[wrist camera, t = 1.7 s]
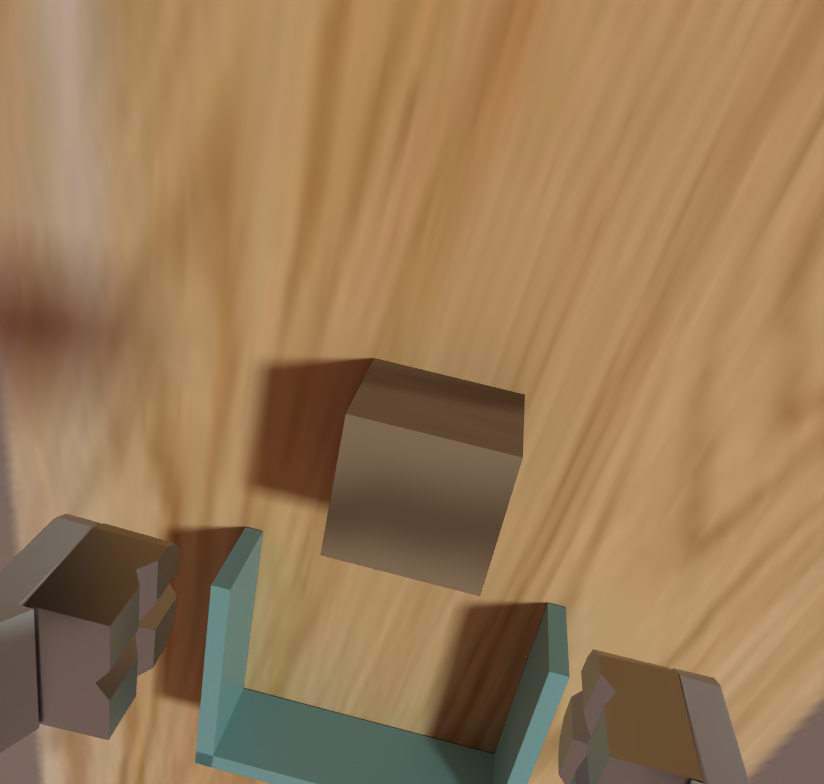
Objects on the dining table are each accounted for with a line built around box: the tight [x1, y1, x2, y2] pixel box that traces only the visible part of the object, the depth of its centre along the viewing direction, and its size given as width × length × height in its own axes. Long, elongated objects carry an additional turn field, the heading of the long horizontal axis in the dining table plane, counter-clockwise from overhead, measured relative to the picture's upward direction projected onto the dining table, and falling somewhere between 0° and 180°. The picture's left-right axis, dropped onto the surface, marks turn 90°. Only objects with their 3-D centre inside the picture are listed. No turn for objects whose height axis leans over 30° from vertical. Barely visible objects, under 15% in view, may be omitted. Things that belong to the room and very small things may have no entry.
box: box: [195, 527, 569, 784], centre depth 34 cm, size 11×15×4 cm
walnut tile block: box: [321, 358, 525, 596], centre depth 28 cm, size 6×6×5 cm
